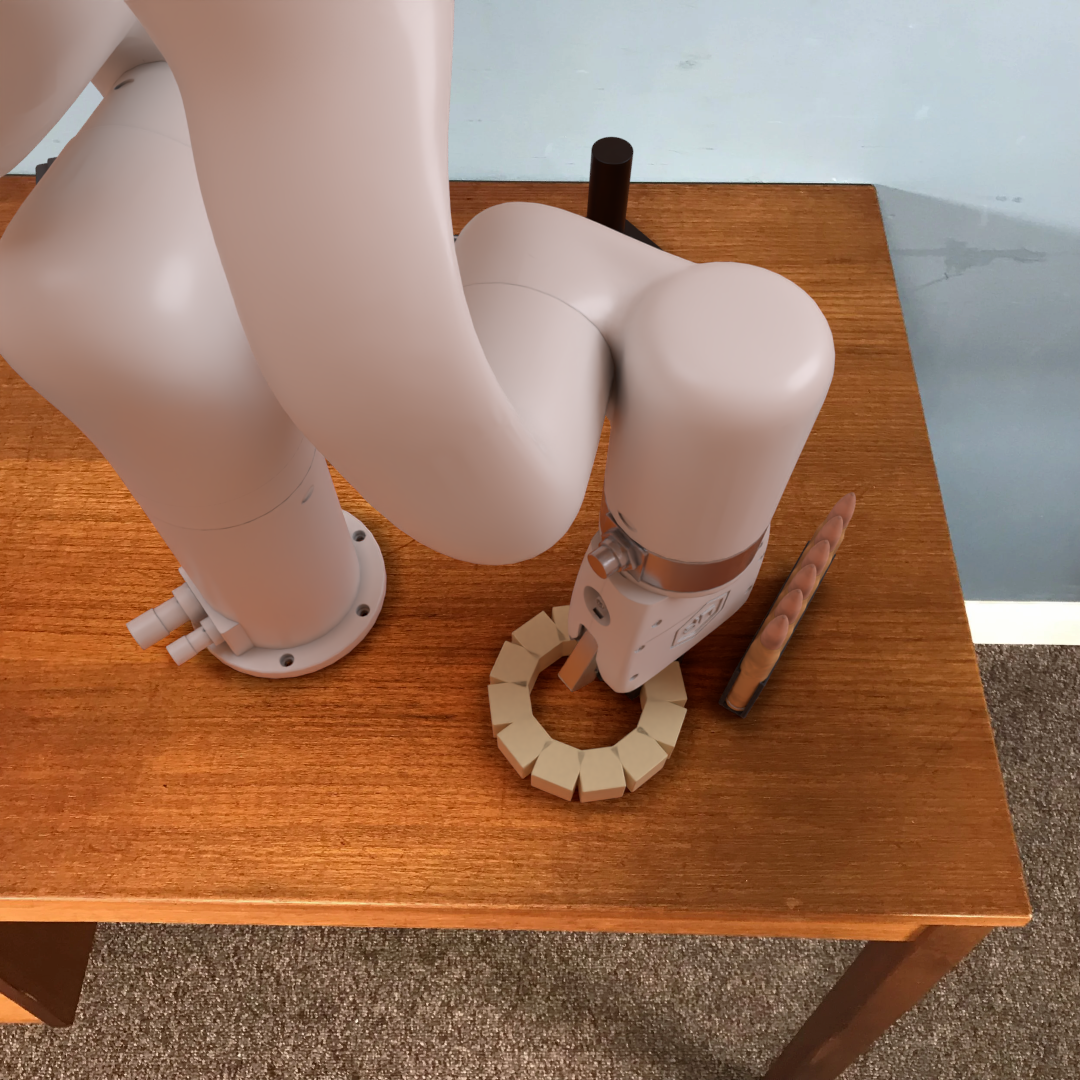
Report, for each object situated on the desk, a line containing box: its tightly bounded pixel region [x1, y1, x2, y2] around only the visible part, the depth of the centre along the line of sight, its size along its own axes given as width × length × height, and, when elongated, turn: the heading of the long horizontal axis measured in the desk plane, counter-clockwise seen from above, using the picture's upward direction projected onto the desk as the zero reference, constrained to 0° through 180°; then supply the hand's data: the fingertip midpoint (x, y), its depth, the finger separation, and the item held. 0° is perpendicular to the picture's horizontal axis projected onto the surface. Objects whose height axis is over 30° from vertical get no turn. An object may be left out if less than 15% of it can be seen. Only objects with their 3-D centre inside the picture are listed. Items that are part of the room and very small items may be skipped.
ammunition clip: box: [717, 491, 857, 719], centre depth 53 cm, size 11×2×12 cm, turn 148°
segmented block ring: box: [487, 604, 688, 803], centre depth 55 cm, size 12×12×2 cm
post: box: [584, 136, 666, 252], centre depth 70 cm, size 9×9×11 cm
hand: (640, 663), depth 58 cm, fingers closed on segmented block ring, 2 cm apart
